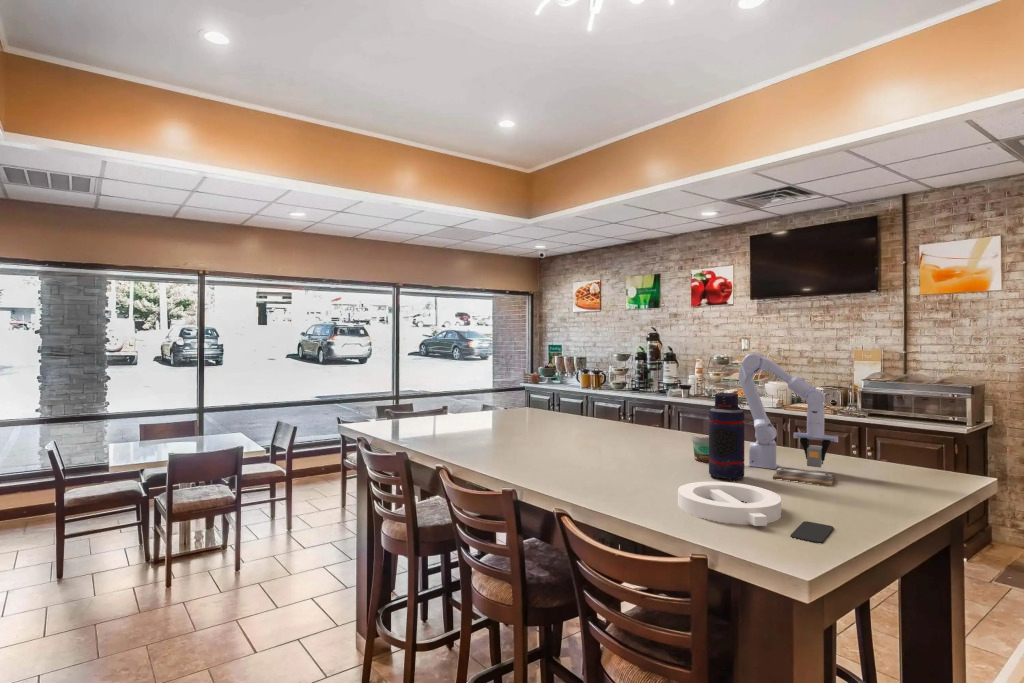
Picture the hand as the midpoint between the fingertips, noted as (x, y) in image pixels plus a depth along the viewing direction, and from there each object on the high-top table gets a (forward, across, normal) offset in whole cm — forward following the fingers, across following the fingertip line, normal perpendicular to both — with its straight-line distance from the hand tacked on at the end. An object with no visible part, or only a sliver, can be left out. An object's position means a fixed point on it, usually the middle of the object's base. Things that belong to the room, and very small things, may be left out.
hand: (815, 459), depth 210 cm
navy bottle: (+5, -25, -26) cm, 36 cm away
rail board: (+5, -2, -14) cm, 15 cm away
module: (+2, 0, 0) cm, 2 cm away
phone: (+5, +8, -74) cm, 75 cm away
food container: (+5, -38, -5) cm, 39 cm away
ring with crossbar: (+5, -15, -65) cm, 67 cm away
